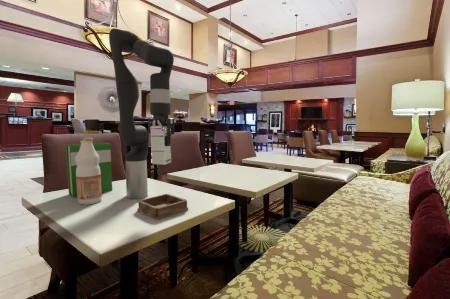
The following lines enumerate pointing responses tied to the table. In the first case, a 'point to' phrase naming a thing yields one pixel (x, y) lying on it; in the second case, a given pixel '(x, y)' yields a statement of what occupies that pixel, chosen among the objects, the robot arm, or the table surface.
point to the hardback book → (104, 165)
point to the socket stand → (162, 206)
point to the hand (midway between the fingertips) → (161, 145)
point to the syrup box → (159, 147)
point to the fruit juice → (88, 173)
